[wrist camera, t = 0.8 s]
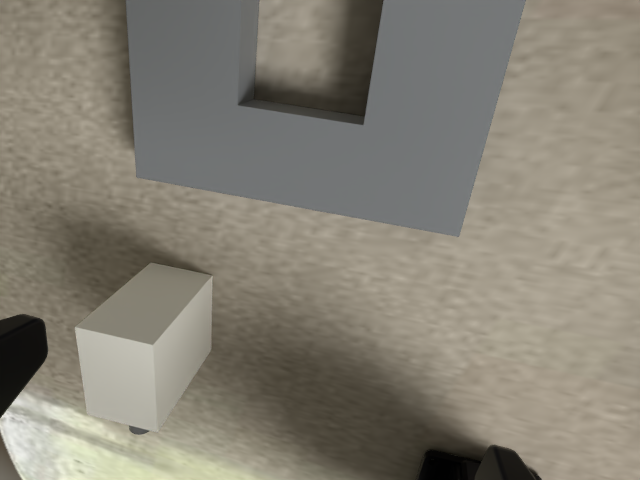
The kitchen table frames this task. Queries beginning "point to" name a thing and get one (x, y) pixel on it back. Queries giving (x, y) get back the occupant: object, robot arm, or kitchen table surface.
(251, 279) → the kitchen table surface
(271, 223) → the kitchen table surface
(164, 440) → the kitchen table surface
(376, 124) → the socket plate
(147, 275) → the plug
